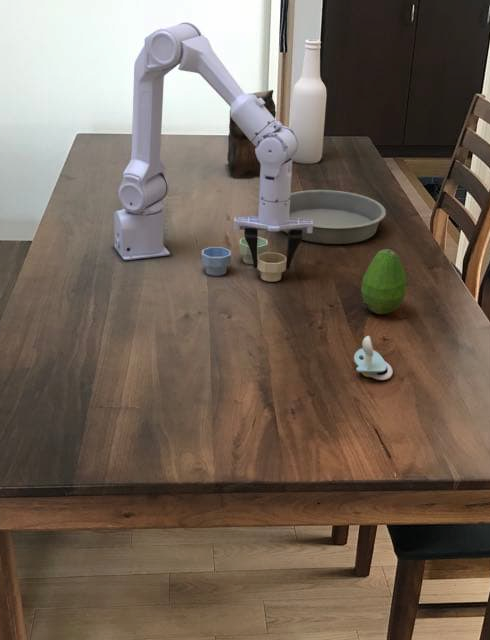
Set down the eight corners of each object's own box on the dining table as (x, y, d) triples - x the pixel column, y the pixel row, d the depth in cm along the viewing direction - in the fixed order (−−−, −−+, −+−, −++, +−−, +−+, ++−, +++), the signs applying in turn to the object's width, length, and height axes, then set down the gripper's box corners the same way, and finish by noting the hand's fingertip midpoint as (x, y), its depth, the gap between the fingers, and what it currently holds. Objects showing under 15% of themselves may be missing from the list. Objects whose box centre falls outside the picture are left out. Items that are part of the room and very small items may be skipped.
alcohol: (327, 158, 241) (336, 40, 225) (311, 166, 234) (320, 44, 218) (299, 152, 244) (306, 36, 229) (282, 160, 238) (289, 40, 222)
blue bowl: (201, 277, 170) (201, 257, 168) (202, 265, 175) (202, 246, 173) (230, 277, 170) (230, 258, 168) (230, 266, 175) (231, 247, 173)
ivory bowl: (256, 282, 169) (257, 263, 166) (256, 271, 173) (257, 251, 171) (285, 283, 169) (287, 264, 167) (284, 272, 173) (286, 252, 171)
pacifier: (388, 362, 144) (351, 360, 144) (394, 327, 141) (356, 325, 141) (395, 385, 138) (356, 383, 138) (401, 349, 135) (362, 347, 134)
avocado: (368, 323, 156) (376, 259, 149) (352, 304, 162) (358, 242, 156) (410, 319, 158) (419, 256, 151) (392, 301, 164) (401, 239, 158)
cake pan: (355, 204, 209) (357, 185, 207) (403, 242, 190) (405, 221, 187) (256, 212, 202) (257, 192, 200) (295, 252, 183) (296, 231, 180)
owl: (276, 167, 232) (280, 87, 222) (269, 182, 221) (273, 99, 211) (228, 163, 233) (230, 84, 223) (219, 178, 223) (221, 95, 212)
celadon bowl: (238, 265, 176) (239, 246, 174) (239, 254, 180) (239, 236, 178) (267, 266, 176) (268, 247, 174) (266, 255, 180) (267, 236, 178)
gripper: (234, 203, 159) (232, 273, 166) (315, 205, 159) (310, 276, 167) (235, 190, 165) (233, 259, 172) (313, 193, 165) (308, 261, 173)
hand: (271, 266), depth 170 cm, fingers closed on ivory bowl, 5 cm apart
